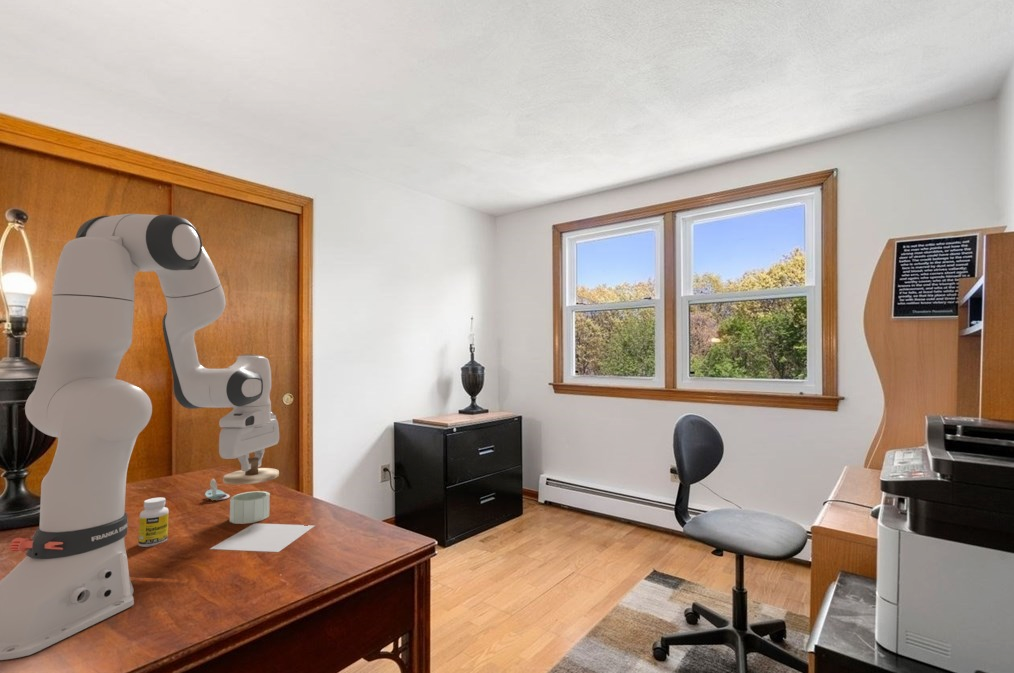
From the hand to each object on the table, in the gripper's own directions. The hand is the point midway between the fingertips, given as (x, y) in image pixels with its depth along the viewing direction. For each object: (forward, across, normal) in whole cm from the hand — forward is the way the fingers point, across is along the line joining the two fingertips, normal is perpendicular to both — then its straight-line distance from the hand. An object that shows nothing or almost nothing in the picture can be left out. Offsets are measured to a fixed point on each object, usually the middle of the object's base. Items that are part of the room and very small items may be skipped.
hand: (251, 468), depth 125 cm
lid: (+2, 0, 0) cm, 2 cm away
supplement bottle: (+13, +17, -12) cm, 25 cm away
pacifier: (+14, -16, -21) cm, 30 cm away
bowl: (+13, 0, 0) cm, 13 cm away
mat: (+13, +12, +12) cm, 21 cm away
